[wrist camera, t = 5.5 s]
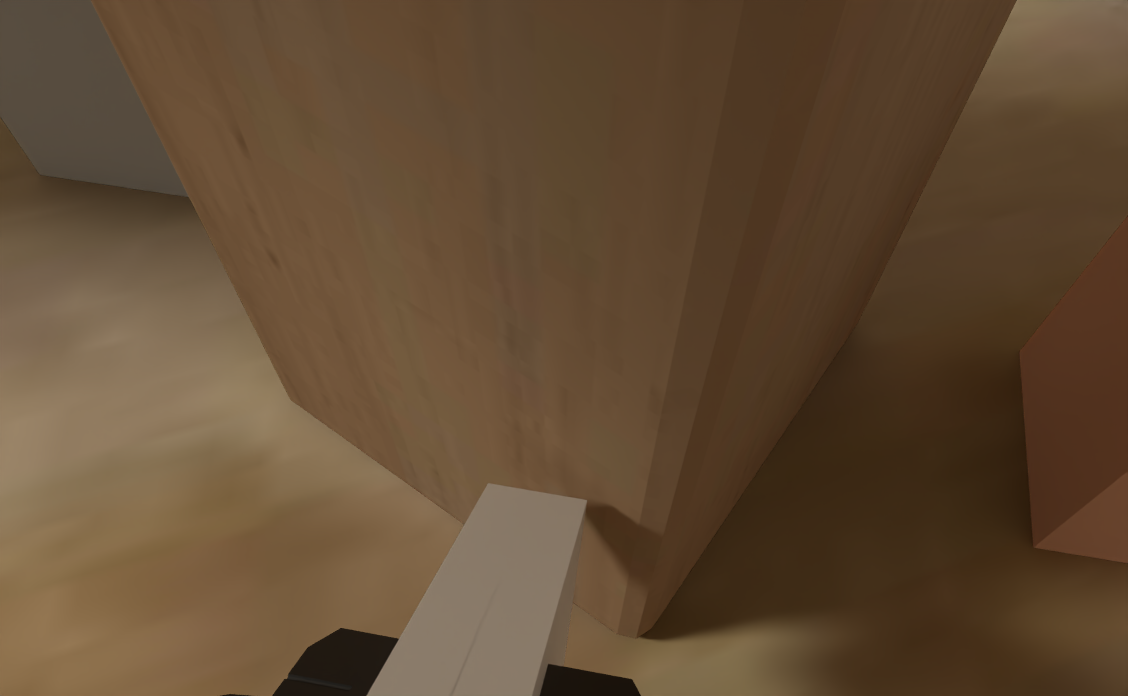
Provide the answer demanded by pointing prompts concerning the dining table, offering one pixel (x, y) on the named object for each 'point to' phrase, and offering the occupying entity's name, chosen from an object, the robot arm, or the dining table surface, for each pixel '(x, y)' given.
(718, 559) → the dining table surface
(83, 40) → the slate post
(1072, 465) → the terracotta post
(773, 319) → the wooden block
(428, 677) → the robot arm
